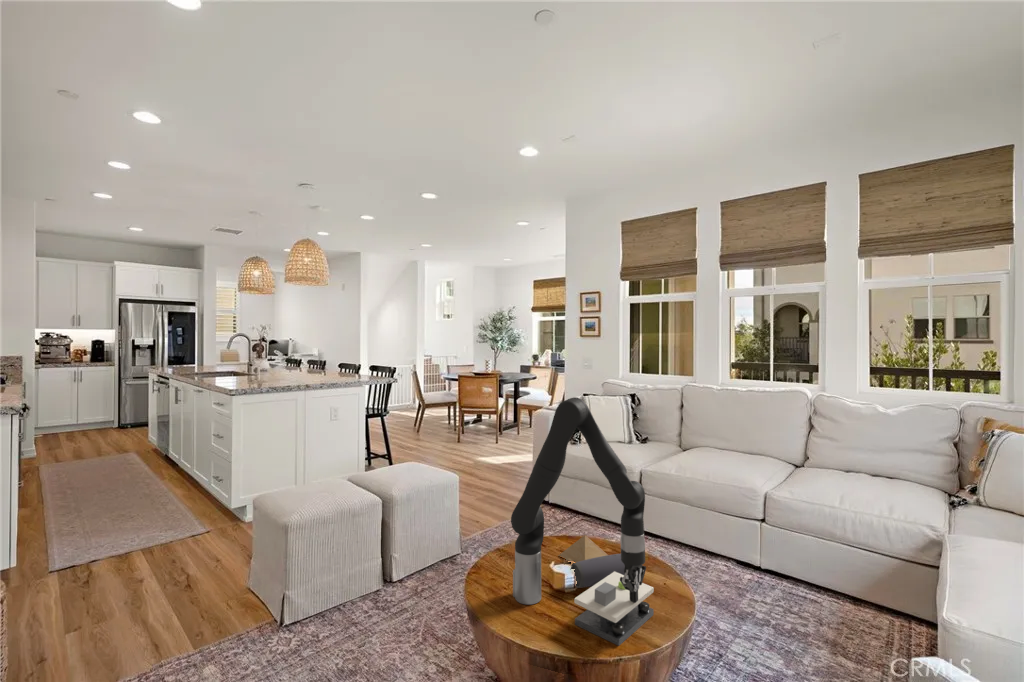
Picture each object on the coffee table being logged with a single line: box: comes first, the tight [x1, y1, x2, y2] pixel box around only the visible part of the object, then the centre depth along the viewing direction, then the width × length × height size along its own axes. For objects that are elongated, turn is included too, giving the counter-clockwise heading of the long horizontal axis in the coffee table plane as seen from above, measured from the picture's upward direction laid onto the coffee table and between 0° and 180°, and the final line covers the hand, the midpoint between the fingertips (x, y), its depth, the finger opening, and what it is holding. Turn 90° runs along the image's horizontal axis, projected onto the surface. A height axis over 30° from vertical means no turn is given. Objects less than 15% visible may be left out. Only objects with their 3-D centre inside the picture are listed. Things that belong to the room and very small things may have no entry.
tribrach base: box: [574, 601, 655, 647], centre depth 163 cm, size 16×22×6 cm
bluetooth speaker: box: [570, 553, 625, 589], centre depth 186 cm, size 23×9×10 cm, turn 111°
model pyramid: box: [557, 534, 608, 562], centre depth 208 cm, size 17×17×10 cm
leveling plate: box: [574, 571, 655, 623], centre depth 163 cm, size 15×24×7 cm, turn 137°
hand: (633, 601), depth 159 cm, fingers closed
